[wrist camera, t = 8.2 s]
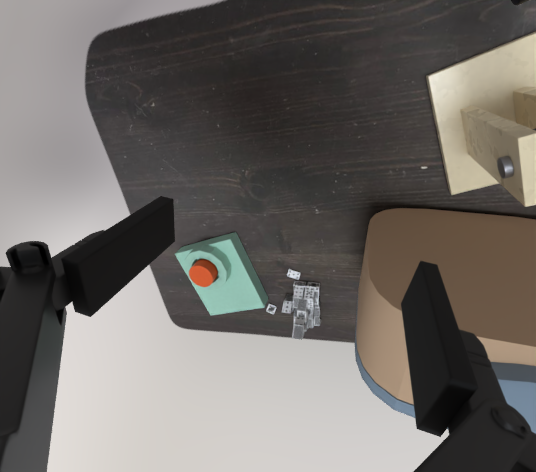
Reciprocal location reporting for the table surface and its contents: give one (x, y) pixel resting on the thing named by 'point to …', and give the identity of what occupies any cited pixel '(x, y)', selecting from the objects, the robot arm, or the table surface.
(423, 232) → the alarm clock
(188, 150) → the table surface
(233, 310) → the button box
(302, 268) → the table surface
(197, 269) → the button
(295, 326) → the house of cards
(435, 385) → the robot arm
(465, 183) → the hinged lever switch
